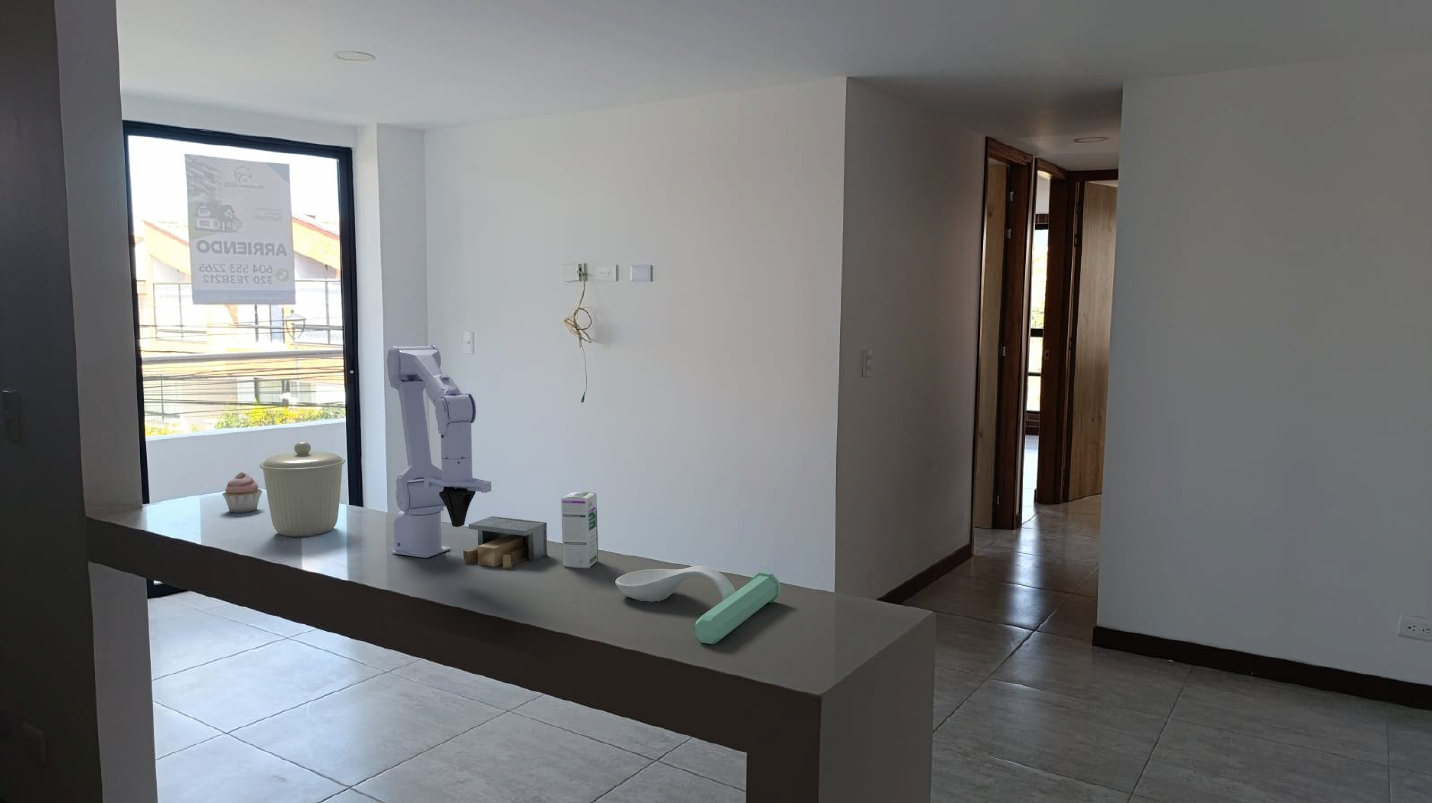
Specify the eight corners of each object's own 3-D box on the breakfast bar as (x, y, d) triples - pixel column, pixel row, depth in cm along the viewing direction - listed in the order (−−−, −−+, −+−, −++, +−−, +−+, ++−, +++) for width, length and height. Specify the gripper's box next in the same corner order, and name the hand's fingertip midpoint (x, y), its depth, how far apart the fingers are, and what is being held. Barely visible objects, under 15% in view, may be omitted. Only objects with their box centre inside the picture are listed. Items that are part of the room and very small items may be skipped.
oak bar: (478, 565, 193) (477, 546, 192) (507, 553, 202) (507, 535, 201) (494, 567, 191) (493, 548, 191) (523, 555, 200) (522, 537, 200)
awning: (456, 561, 194) (455, 528, 194) (492, 547, 205) (492, 516, 205) (513, 569, 189) (512, 535, 188) (547, 554, 200) (546, 522, 199)
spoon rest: (603, 601, 170) (602, 562, 170) (639, 584, 180) (639, 547, 180) (717, 623, 159) (717, 582, 158) (749, 604, 169) (749, 565, 168)
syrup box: (589, 568, 190) (588, 497, 188) (561, 566, 191) (560, 496, 190) (598, 561, 195) (598, 492, 194) (571, 559, 197) (570, 490, 195)
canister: (356, 534, 216) (353, 443, 214) (270, 545, 206) (265, 450, 204) (337, 519, 231) (334, 434, 229) (256, 529, 221) (252, 440, 219)
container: (713, 610, 147) (774, 567, 169) (682, 619, 149) (746, 575, 172) (726, 646, 146) (786, 598, 169) (695, 654, 149) (757, 606, 171)
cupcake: (221, 516, 234) (218, 476, 233) (224, 508, 243) (222, 470, 242) (262, 512, 238) (260, 473, 237) (264, 505, 247) (262, 467, 246)
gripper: (412, 457, 181) (414, 526, 183) (474, 462, 176) (476, 534, 177) (436, 452, 188) (438, 518, 189) (497, 457, 182) (498, 525, 184)
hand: (458, 525), depth 184 cm, fingers closed
